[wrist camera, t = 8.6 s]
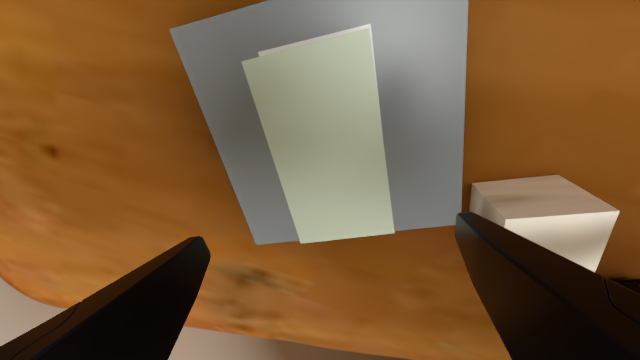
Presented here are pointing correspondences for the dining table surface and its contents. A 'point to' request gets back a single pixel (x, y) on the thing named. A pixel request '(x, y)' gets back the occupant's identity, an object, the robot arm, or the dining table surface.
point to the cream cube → (549, 215)
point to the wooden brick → (326, 135)
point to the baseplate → (392, 89)
